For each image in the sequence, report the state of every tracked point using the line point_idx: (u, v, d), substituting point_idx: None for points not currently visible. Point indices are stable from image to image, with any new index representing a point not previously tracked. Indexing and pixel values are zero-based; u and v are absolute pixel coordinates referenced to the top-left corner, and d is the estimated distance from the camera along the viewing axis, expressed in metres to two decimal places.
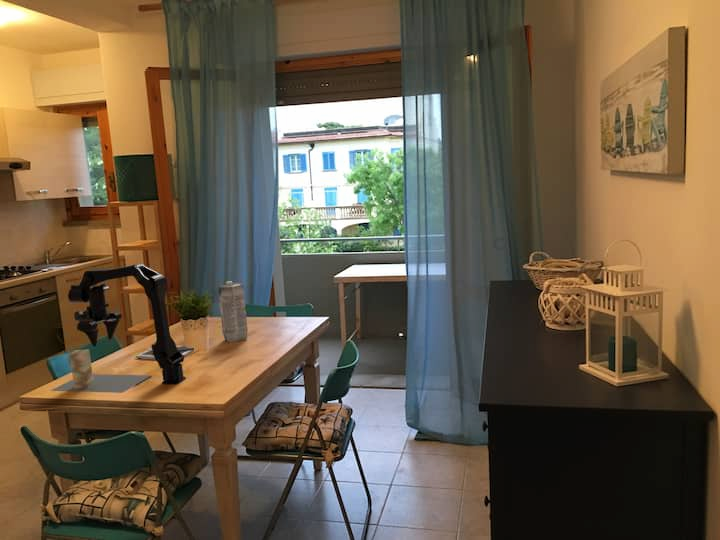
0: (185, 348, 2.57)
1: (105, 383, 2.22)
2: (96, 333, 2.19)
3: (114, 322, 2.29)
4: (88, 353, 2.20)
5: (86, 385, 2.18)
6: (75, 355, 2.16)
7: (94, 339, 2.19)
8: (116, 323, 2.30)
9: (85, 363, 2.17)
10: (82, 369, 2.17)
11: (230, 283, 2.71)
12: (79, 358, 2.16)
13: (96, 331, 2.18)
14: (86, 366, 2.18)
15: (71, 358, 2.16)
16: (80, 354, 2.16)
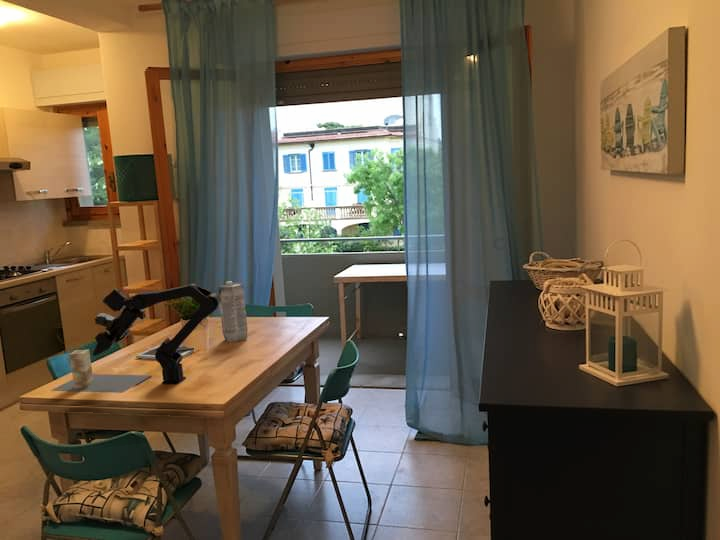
0: (185, 348, 2.57)
1: (105, 383, 2.22)
2: (107, 349, 2.13)
3: (120, 338, 2.23)
4: (88, 353, 2.20)
5: (86, 385, 2.18)
6: (75, 355, 2.16)
7: (100, 352, 2.13)
8: (120, 339, 2.24)
9: (85, 363, 2.17)
10: (82, 369, 2.17)
11: (230, 283, 2.71)
12: (79, 358, 2.16)
13: (108, 348, 2.12)
14: (86, 366, 2.18)
15: (71, 358, 2.16)
16: (80, 354, 2.16)
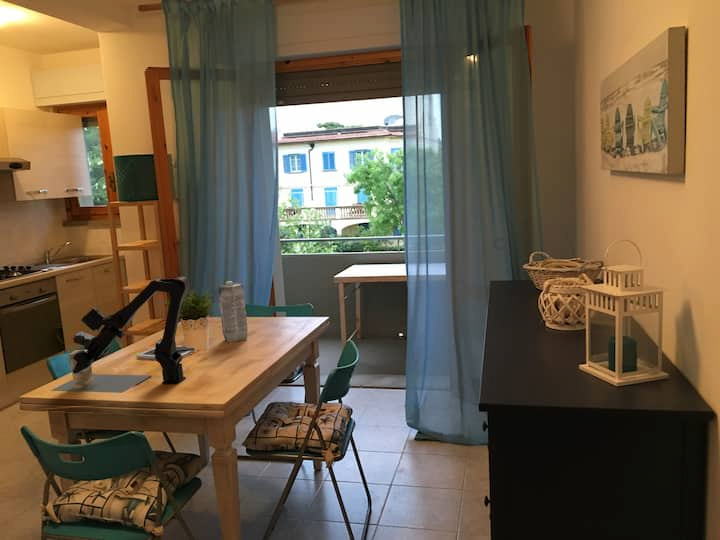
0: (186, 348, 2.57)
1: (105, 383, 2.22)
2: (86, 367, 2.15)
3: (98, 357, 2.23)
4: None
5: (86, 385, 2.18)
6: None
7: (80, 369, 2.15)
8: None
9: None
10: None
11: (230, 283, 2.71)
12: None
13: None
14: None
15: (71, 358, 2.16)
16: None
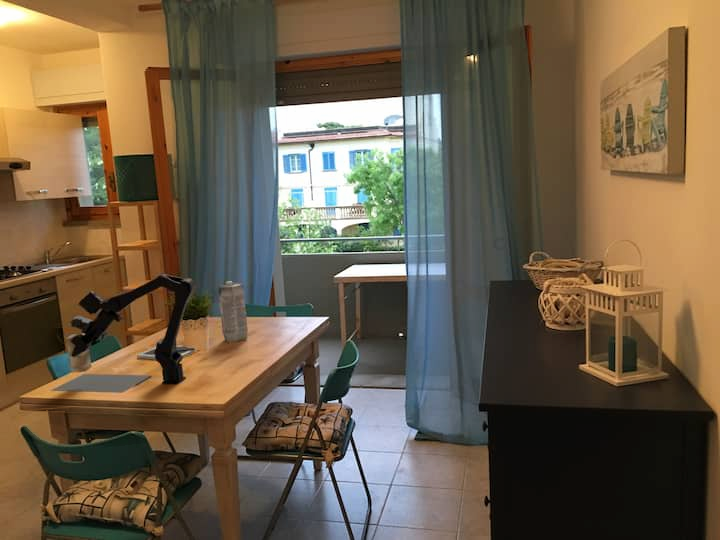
0: (186, 348, 2.57)
1: (105, 383, 2.22)
2: None
3: (95, 342, 2.21)
4: None
5: (84, 369, 2.17)
6: None
7: (78, 353, 2.15)
8: (95, 343, 2.22)
9: None
10: None
11: (230, 283, 2.71)
12: None
13: None
14: None
15: (68, 342, 2.15)
16: None
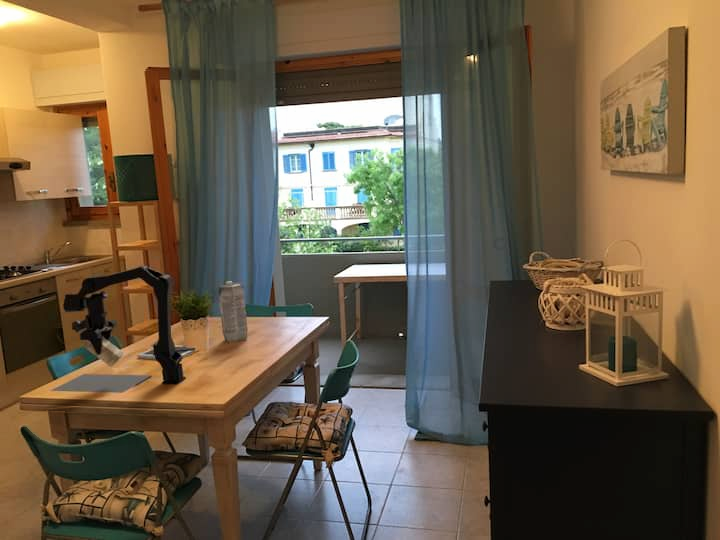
0: (186, 348, 2.57)
1: (105, 383, 2.22)
2: (102, 340, 2.14)
3: (109, 332, 2.21)
4: None
5: (116, 356, 2.17)
6: (86, 341, 2.15)
7: (99, 347, 2.15)
8: (111, 333, 2.22)
9: None
10: None
11: (230, 283, 2.71)
12: None
13: (102, 338, 2.14)
14: (103, 343, 2.17)
15: (86, 346, 2.16)
16: None
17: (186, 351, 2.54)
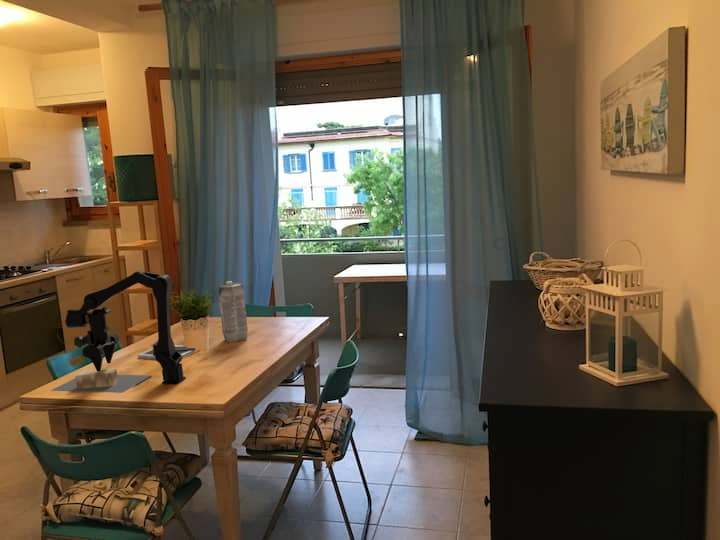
0: (186, 348, 2.57)
1: None
2: (102, 357, 2.13)
3: (113, 345, 2.24)
4: (83, 371, 2.21)
5: (109, 374, 2.17)
6: (78, 383, 2.17)
7: (99, 364, 2.14)
8: (115, 346, 2.25)
9: (86, 374, 2.18)
10: (92, 377, 2.17)
11: (230, 283, 2.71)
12: (81, 379, 2.17)
13: (102, 355, 2.13)
14: (91, 373, 2.18)
15: (81, 387, 2.18)
16: (76, 378, 2.17)
17: (186, 351, 2.54)
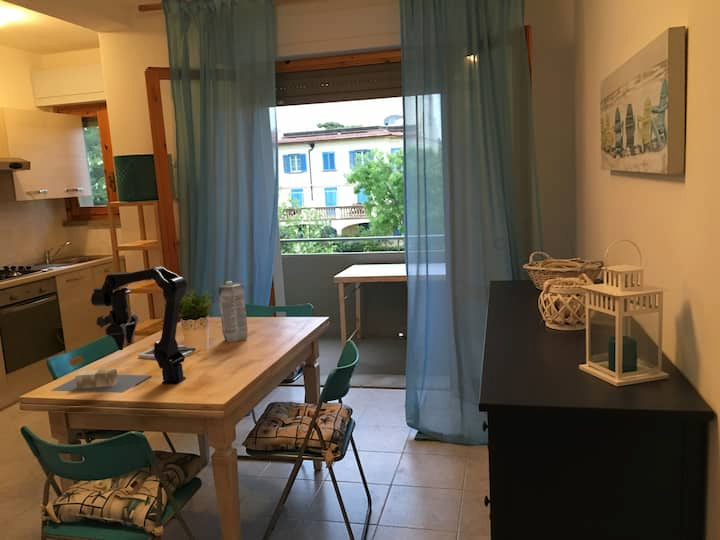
0: (187, 348, 2.57)
1: None
2: (124, 336, 2.19)
3: (133, 325, 2.29)
4: (83, 371, 2.21)
5: (109, 374, 2.17)
6: (78, 383, 2.17)
7: (122, 342, 2.19)
8: (135, 327, 2.30)
9: (86, 374, 2.18)
10: (92, 377, 2.17)
11: (230, 283, 2.71)
12: (81, 379, 2.17)
13: (125, 334, 2.18)
14: (91, 373, 2.18)
15: (81, 387, 2.18)
16: (76, 378, 2.17)
17: (187, 351, 2.54)
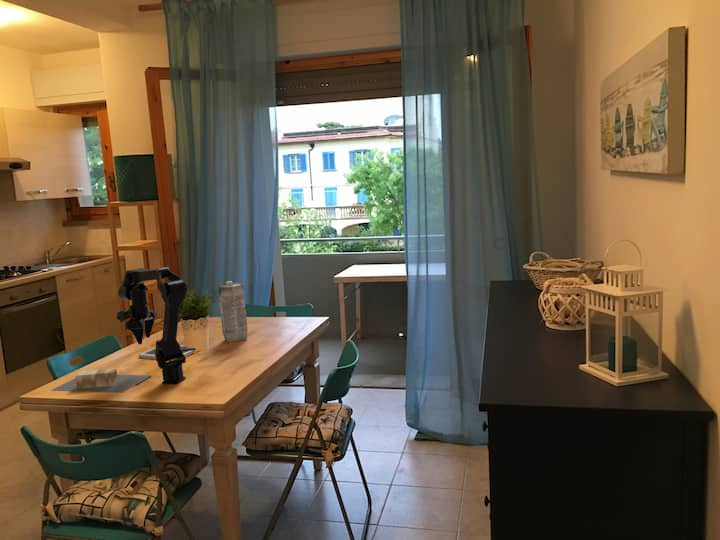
0: (187, 348, 2.57)
1: None
2: (143, 331, 2.24)
3: (152, 320, 2.35)
4: (83, 371, 2.21)
5: (109, 374, 2.17)
6: (78, 383, 2.17)
7: (141, 337, 2.25)
8: (154, 322, 2.36)
9: (86, 374, 2.18)
10: (92, 377, 2.17)
11: (230, 283, 2.71)
12: (81, 379, 2.17)
13: (144, 329, 2.24)
14: (91, 373, 2.18)
15: (81, 387, 2.18)
16: (76, 378, 2.17)
17: (187, 351, 2.54)
